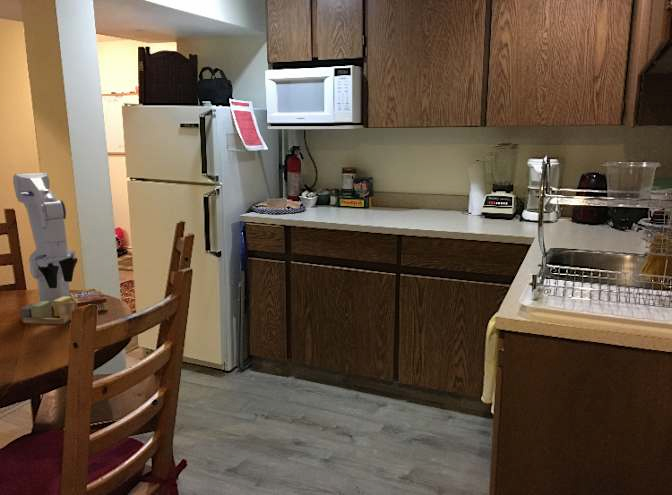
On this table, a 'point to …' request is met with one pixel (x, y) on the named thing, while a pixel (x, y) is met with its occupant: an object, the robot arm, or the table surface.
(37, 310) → the olive book
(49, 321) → the tan l-frame
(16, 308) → the table surface
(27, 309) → the bookend
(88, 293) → the candy box
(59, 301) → the yellow thick square block
